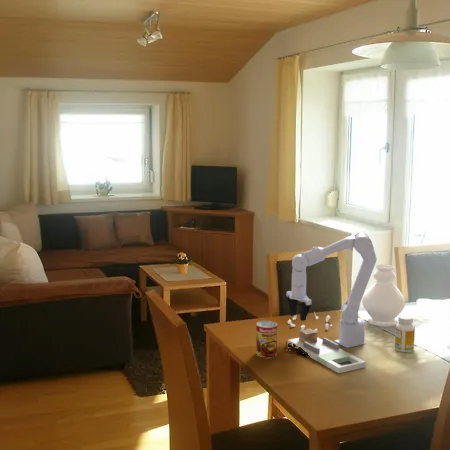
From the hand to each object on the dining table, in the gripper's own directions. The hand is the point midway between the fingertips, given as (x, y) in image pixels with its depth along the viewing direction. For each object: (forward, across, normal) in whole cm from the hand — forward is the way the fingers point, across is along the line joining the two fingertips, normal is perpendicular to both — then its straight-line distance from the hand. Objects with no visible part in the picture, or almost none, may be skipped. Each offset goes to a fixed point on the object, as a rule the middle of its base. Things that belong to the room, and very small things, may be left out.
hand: (298, 317), depth 252 cm
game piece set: (+10, -14, +16) cm, 23 cm away
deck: (+9, +18, 0) cm, 20 cm away
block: (+7, +7, 0) cm, 10 cm away
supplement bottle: (+10, +27, +31) cm, 42 cm away
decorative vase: (+10, -2, +46) cm, 47 cm away
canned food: (+10, +7, -19) cm, 22 cm away
